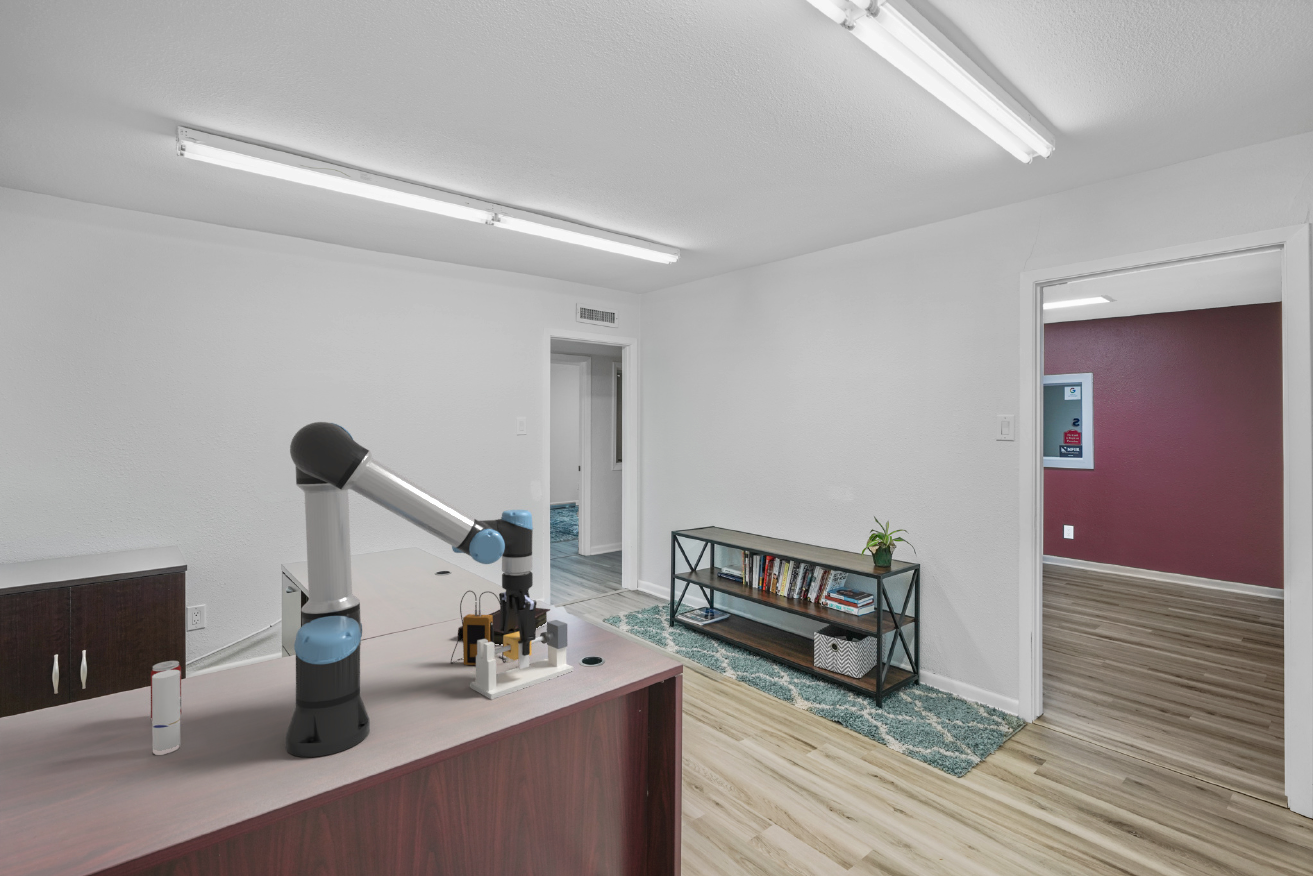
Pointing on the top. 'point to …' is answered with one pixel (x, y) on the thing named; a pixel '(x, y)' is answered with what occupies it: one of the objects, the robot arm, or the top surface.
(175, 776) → the top surface
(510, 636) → the cube with square hole
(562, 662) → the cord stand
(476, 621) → the multimeter
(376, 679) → the top surface
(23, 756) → the top surface
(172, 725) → the tube
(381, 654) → the top surface
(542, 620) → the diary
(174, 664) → the soda can
